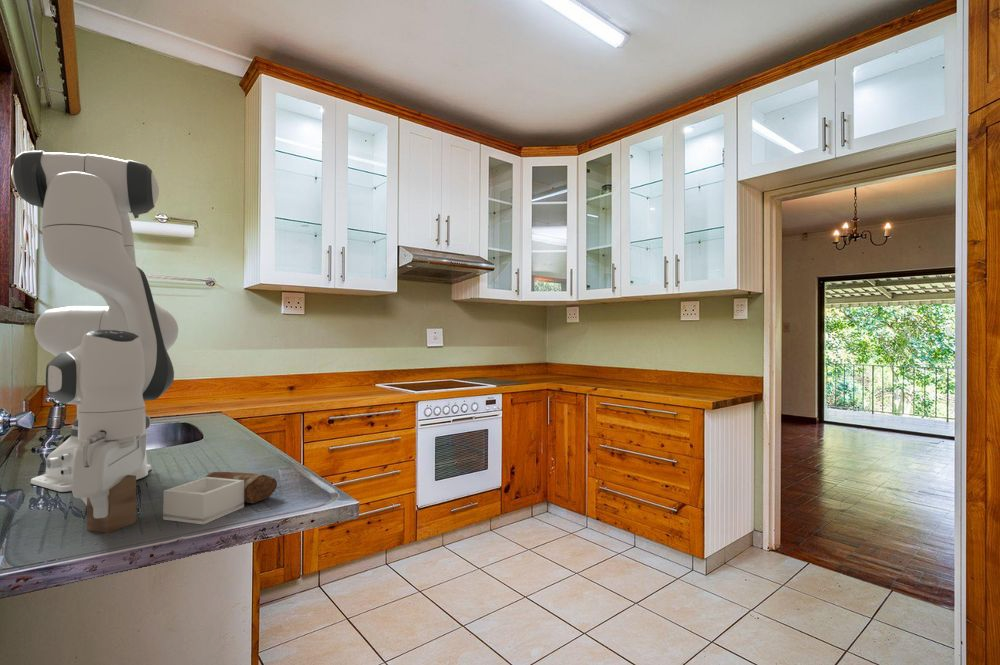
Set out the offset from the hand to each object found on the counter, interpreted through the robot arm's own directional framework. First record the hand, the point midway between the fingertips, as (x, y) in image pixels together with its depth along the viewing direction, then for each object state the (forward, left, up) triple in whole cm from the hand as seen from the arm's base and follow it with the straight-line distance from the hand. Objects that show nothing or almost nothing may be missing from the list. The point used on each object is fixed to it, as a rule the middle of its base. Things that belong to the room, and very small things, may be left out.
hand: (111, 508), depth 81 cm
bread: (+7, +18, -3) cm, 20 cm away
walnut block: (0, 0, -3) cm, 3 cm away
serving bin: (+10, +9, -3) cm, 14 cm away
